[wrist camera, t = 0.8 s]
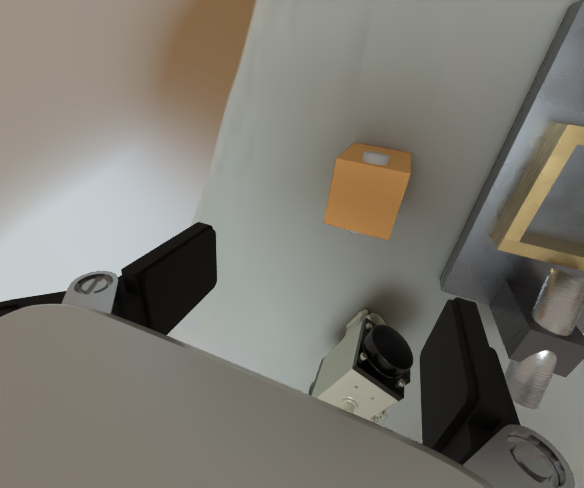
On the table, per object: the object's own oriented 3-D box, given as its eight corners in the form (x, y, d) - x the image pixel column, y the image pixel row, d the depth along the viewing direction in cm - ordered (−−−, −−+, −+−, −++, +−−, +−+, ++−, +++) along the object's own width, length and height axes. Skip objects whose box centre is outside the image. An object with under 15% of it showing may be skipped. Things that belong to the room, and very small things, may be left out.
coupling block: (392, 210, 28) (386, 246, 21) (342, 198, 29) (322, 228, 22) (412, 147, 25) (413, 166, 18) (356, 136, 26) (337, 151, 20)
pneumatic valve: (325, 337, 38) (295, 422, 28) (379, 282, 32) (364, 368, 22) (360, 361, 38) (342, 455, 28) (421, 311, 32) (425, 410, 22)
